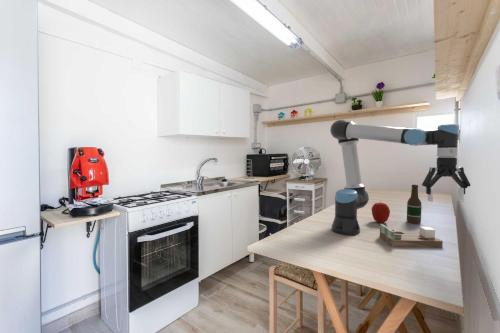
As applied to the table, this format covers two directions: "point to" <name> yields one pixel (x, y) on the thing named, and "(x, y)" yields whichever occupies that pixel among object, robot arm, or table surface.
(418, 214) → the beer bottle
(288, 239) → the table surface
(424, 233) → the ivory block
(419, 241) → the board
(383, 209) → the apple
